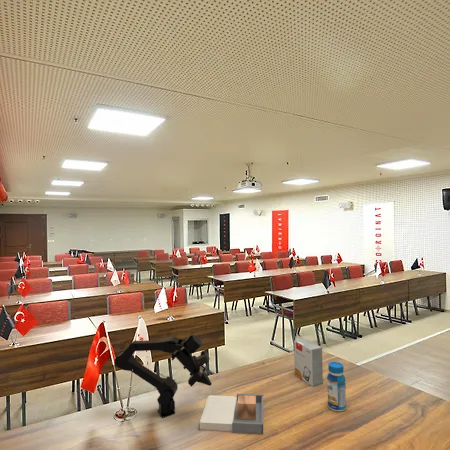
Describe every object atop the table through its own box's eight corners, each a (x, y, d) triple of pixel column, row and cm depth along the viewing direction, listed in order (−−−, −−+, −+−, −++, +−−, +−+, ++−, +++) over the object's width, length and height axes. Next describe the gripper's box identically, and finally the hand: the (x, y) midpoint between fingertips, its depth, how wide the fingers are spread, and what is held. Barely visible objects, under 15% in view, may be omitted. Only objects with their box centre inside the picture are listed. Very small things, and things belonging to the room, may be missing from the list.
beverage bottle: (348, 413, 146) (346, 368, 147) (328, 411, 148) (327, 367, 148) (344, 402, 155) (343, 361, 155) (326, 401, 156) (325, 360, 157)
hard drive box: (294, 375, 185) (293, 340, 185) (304, 372, 188) (304, 338, 188) (312, 387, 171) (311, 349, 171) (323, 383, 174) (322, 346, 174)
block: (237, 403, 143) (255, 404, 142) (238, 395, 150) (255, 395, 149) (237, 419, 143) (255, 419, 142) (238, 410, 150) (256, 410, 149)
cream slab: (199, 429, 137) (199, 422, 137) (208, 401, 159) (208, 395, 159) (232, 431, 135) (232, 424, 135) (237, 402, 157) (236, 396, 157)
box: (232, 432, 135) (232, 422, 135) (237, 401, 158) (237, 393, 158) (263, 434, 133) (263, 424, 133) (263, 402, 156) (263, 394, 156)
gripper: (195, 355, 140) (221, 382, 138) (202, 340, 158) (225, 364, 157) (177, 373, 140) (202, 399, 139) (186, 356, 159) (209, 380, 157)
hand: (210, 384), depth 148 cm, fingers closed
